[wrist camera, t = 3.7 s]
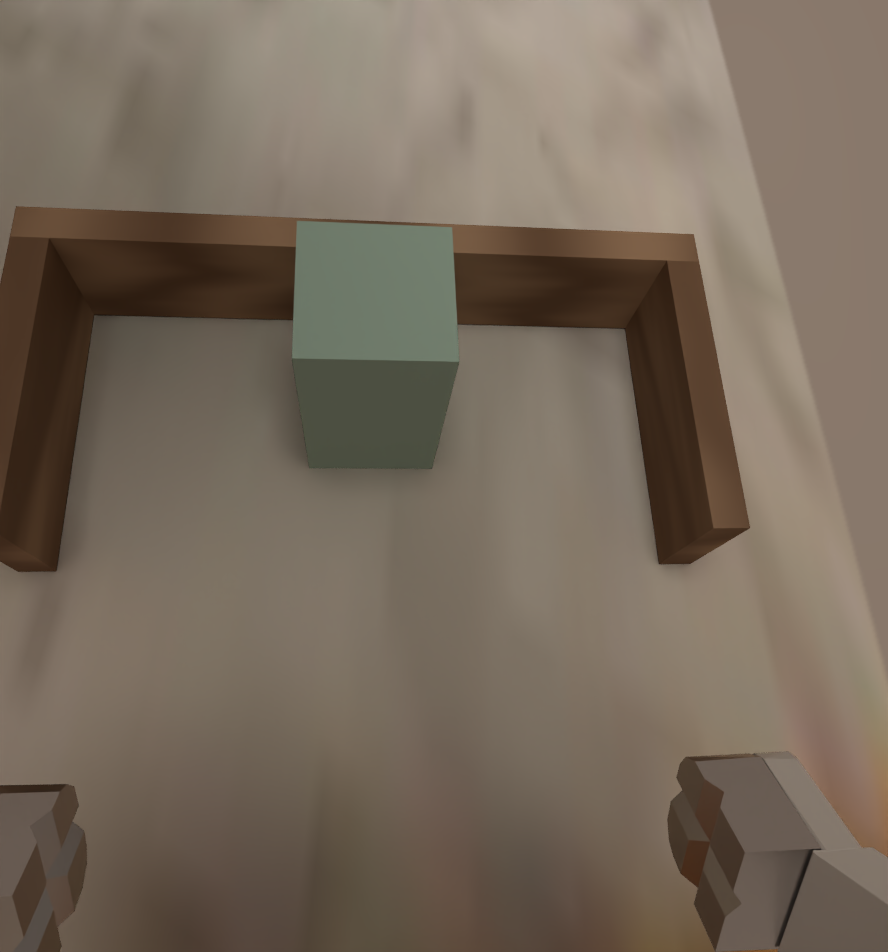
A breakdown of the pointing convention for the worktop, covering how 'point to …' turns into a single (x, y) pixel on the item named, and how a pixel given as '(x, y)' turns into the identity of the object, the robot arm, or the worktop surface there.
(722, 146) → the worktop surface
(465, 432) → the worktop surface
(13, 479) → the wooden u-shaped stand
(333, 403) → the sage green block
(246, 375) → the worktop surface
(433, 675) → the worktop surface
